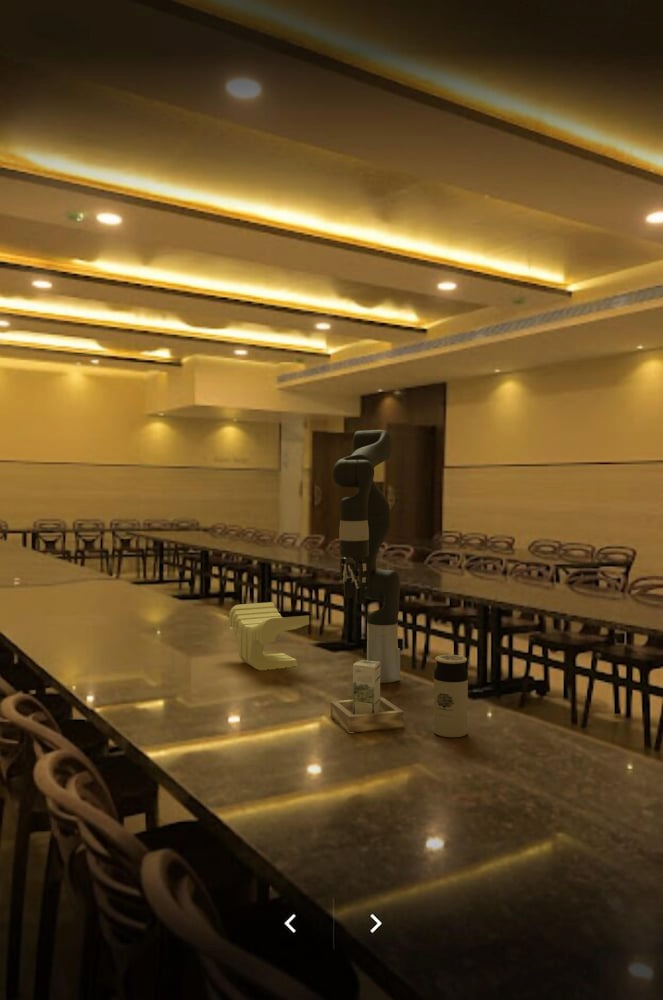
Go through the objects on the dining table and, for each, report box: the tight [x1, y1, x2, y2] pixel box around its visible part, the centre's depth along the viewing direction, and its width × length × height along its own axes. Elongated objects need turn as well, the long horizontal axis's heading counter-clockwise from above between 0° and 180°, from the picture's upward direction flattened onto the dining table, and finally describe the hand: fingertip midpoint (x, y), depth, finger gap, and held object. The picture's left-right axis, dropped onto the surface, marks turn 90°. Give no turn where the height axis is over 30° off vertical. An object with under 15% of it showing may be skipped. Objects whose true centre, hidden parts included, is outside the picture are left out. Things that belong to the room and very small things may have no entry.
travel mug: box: [433, 654, 469, 739], centre depth 189 cm, size 8×8×18 cm
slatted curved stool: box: [228, 601, 310, 671], centre depth 259 cm, size 30×16×18 cm, turn 27°
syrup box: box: [352, 659, 381, 715], centre depth 197 cm, size 6×6×14 cm
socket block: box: [330, 696, 405, 733], centre depth 198 cm, size 14×14×4 cm
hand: (354, 600), depth 204 cm, fingers open, 8 cm apart
